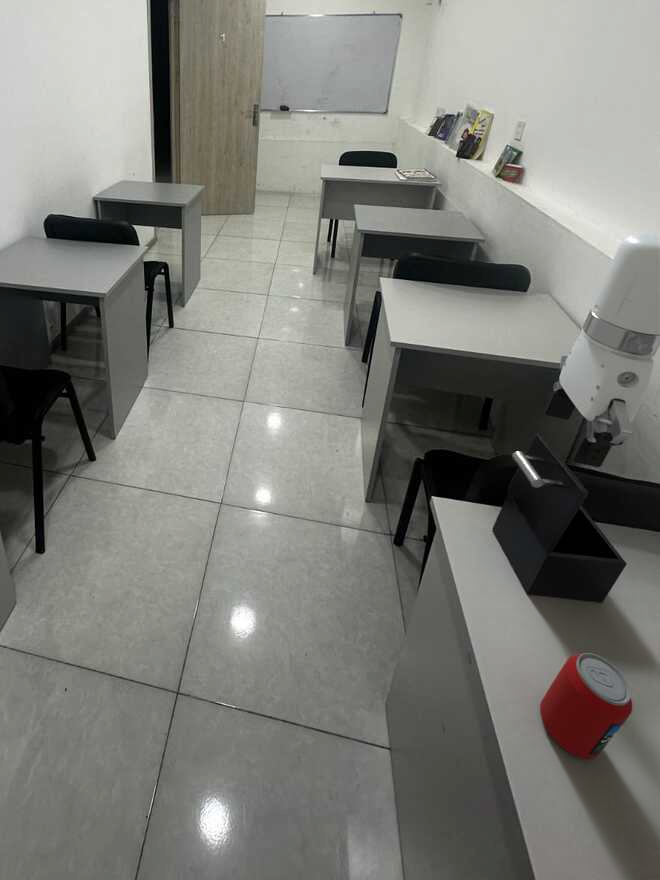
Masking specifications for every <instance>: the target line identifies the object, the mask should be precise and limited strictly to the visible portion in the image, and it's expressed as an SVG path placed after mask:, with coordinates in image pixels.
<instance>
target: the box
mask: <svg viewBox="0 0 660 880" xmlns="http://www.w3.org/2000/svg"><path fill="white" fill-rule="evenodd" d="M492 529H493V531H494V533H495V535H494V537H495V538H496V541H497V542H498V544H499V543H500V544H499V546H500V545H501V546H500V548H501V547H502V548H501V549H502V551H503V554H504V555H505V556H506V559H507V561H508V562H509V564H510V566H511V568H512V570H513V572H514V574H515V575H516V577H517V579H518V581H519V583H520V585H521V587H522V588H523V590H524V592H525V594H526V595H528V596H535V597H537V596H538V597H547V598H555V599H563V600H564V599H565V600H572V601H573V600H574V601H581V602H591V603H599V604H603V603H604V601H605V600H606V598H607V597H608V595H609V593H610V591H611V590H612V588H613V587H614V585H615V584H616V582H617V581H618V579H619V577H620V576H621V574H622V573H623V571H624V569H625V568H626V567H627V562H626V560H624V558H623V556H621V555H620V553H619V552H618V550H617V549H616V548H615V547H614V546H613V544H612V542H610V540H609V539H608V537H606V535H605V534H604V532H603V531H602V530H601V529H600V527H599V526H598V525H597V524H596V522H595V521H594V520H593V518H592V516H590V515H589V513H588V512H587V511H586V509H585V508H584V507H583V505H581V506H580V508H579V509H578V511H577V512H576V514H575V516H574V517H573V519H572V521H571V522H570V524H569V525H568V527H567V529H566V530H565V532H564V533H563V535H562V537H561V538H560V540H559V541H558V543H557V545H556V546H555V548H554V550H553V551H552V553H546V552H545V550H544V549H543V547H542V545H541V544H540V542H539V541H538V539H537V537H536V536H535V534H534V533H533V531H532V529H531V528H530V526H529V525H528V523H527V521H526V520H525V518H524V517H523V515H522V513H521V512H520V510H519V509H518V507H517V505H516V504H515V502H514V501H513V499H512V498H511V496H510V494H509V493H508V492H507V495H506V496H505V499H504V501H503V503H502V506H501V508H500V511H499V513H498V514H497V517H496V520H495V522H494V524H493V526H492ZM492 529H491V530H492ZM493 531H492V532H493ZM494 533H493V534H494Z"/></svg>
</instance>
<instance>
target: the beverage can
mask: <svg viewBox="0 0 660 880" xmlns="http://www.w3.org/2000/svg"><path fill="white" fill-rule="evenodd" d="M632 712H633V701H632V691H631V687H630V685H629V682H628V680H627V679H626V678H625V676H624V675H623V674H622V673H621V671H620V670H619V669H618V668H617V667H616V666H615V665H614V664H613V663H611V662H610V661H608V659H606V658H603V657H602V656H600V655H598V654H595V653H591V652H584V653H580V654H573V655H571V656H569V657H568V658H567V660H566V661H565V663H564V664H563V666H562V667H561V669H560V670H559V672H558V673H557V674H556V677H555V678H554V680H553V681H552V683H551V684H550V686H549V688H548V689H547V691H546V693H545V694H544V696H543V698H542V700H541V701H540V704H539V713H540V717H541V719H542V723H543V725H544V728H546V730H547V732H548V733H549V735H550V736H551V738H552V739H553V740H554V741H555V742H556V743H557V744H558V745H559V746H560V747H562V748H563V749H564V750H565V751H566V752H567V753H569V754H570V755H573V756H574V757H576V758H579V759H582V760H593V759H595V758H597V757H598V756H599V755H600V754H601V752H602V751H603V750H604V749H605V747H606V746H607V745H608V744H609V743H610V742H611V741H612V739H613V738H614V737H615V735H616V734H617V732H619V730H620V729H621V728H622V726H623V725H624V724H625V722H626V721H627V720H628V718H629V717H630V716H631V714H632Z"/></svg>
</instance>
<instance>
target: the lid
mask: <svg viewBox="0 0 660 880" xmlns="http://www.w3.org/2000/svg"><path fill="white" fill-rule="evenodd" d="M511 457H512V459H513V461H514V462H515V463H516V465H517V466H518V468H517V470H516V472H515V474H514V476H513V478H512V480H511V482H510V483H509V485H508V487H507V489H506V491H507V494H508V493H509V494H510V496H511V498H512V499H513V501H514V502H515V504H516V505H517V507H518V509H519V510H520V512H521V513H522V515H523V517H524V518H525V520H526V521H527V523H528V525H529V526H530V528H531V529H532V531H533V533H534V534H535V536H536V537H537V539H538V541H539V542H540V544H541V545H542V547H543V549H544V550H545V552H546V553H552V551H553V550H554V548H555V546H556V545H557V543H558V541H559V540H560V538H561V537H562V535H563V533H564V532H565V530H566V529H567V527H568V525H569V524H570V522H571V521H572V519H573V517H574V516H575V514H576V512H577V511H578V509H579V508H580V506H582V504H583V503H584V501H585V500H586V498H587V497H588V495H589V491H588V490H587V489H586V488H585V487H584V485H583V484H582V483H581V481H579V479H578V478H577V477H576V476H575V474H574V473H573V471H571V469H570V468H569V467H568V466H567V465H566V463H565V462H564V461H563V460H562V458H561V457H560V456H559V454H557V452H556V451H555V450H554V449H553V447H552V446H551V445H550V444H549V443H548V441H547V440H546V439H545V437H544V436H543V435H542V434H541V433H536V434H535V436H534V438H533V439H532V441H531V443H530V445H529V447H528V449H527V451H526V453H524V452H523V451H520V450H517V451H514V452H513V453H512V454H511Z"/></svg>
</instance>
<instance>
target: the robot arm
mask: <svg viewBox="0 0 660 880" xmlns="http://www.w3.org/2000/svg"><path fill="white" fill-rule="evenodd" d="M659 348H660V235H656V234H650V233H649V234H647V233H637V234H631V235H629V236H627V237H626V238H624V239H623V240H622V241H621V242H620V244H619V246H618V248H617V250H616V252H615V255H614V257H613V259H612V261H611V263H610V266H609V268H608V270H607V272H606V275H605V277H604V279H603V282H602V284H601V286H600V288H599V290H598V293H597V295H596V297H595V300H594V302H593V304H592V306H591V308H590V309H589V312H588V315H587V317H586V320H585V321H584V324H583V326H582V328H581V331H580V335H579V336H578V338H577V339H576V340H575V342H574V344H573V345H572V348H571V350H570V352H569V353H568V355H562V356H560V357H561V358H560V364H559V369H558V370H557V372H556V377H557V378H556V380H557V381H556V382H554V384H553V391H552V394H551V396H550V398H549V400H548V402H547V404H546V406H545V409H544V410H543V411H544V415H546V416H548V417H553V418H556V419H563V420H570V418H571V416H572V414H573V412H574V410H575V408H576V409H577V411H578V412H579V413H580V414H581V415H582V416H583V418H584V419H586V435H582V436H581V438H580V440H579V442H578V444H577V446H576V448H575V450H574V451H573V453H572V456H571V459H572V461H573V462H574V463H576V464H580V465H586V466H590V467H595V468H601V466H602V465H603V463H604V461H605V460H606V457H608V454H609V453H610V451H611V449H612V447H613V448H616V447H617V446H622V445H623V444H624V442H626V441H627V440H629V439H630V438H632V437H633V436H634V435H633V434H634V432H633V428H632V425H631V423H632V422H633V420H634V418H635V416H636V414H637V412H638V410H639V408H640V405H641V404H642V401H643V398H644V397H645V394H646V391H647V389H648V385H649V382H650V380H651V376H652V372H653V370H654V369H653V368H654V362H655V361H654V359H653V358H654V357H655V355H656V353H657V352H658V350H659ZM601 415H605V416H607V418H604V417H600V416H601ZM598 424H599V425H605V426H606V431H600V432H598Z"/></svg>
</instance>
